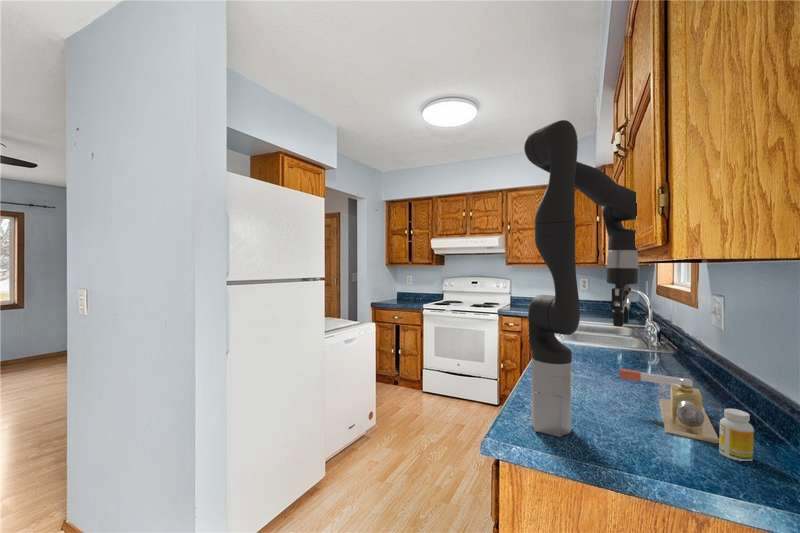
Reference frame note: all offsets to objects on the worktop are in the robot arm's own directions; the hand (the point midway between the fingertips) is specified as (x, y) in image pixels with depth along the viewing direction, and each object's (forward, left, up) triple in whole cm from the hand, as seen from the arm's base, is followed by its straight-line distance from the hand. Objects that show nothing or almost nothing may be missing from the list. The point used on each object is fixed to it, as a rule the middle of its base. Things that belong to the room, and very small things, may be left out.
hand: (621, 324), depth 101 cm
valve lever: (+3, -8, -16) cm, 18 cm away
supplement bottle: (-14, -22, -25) cm, 36 cm away
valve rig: (+3, -15, -24) cm, 29 cm away
